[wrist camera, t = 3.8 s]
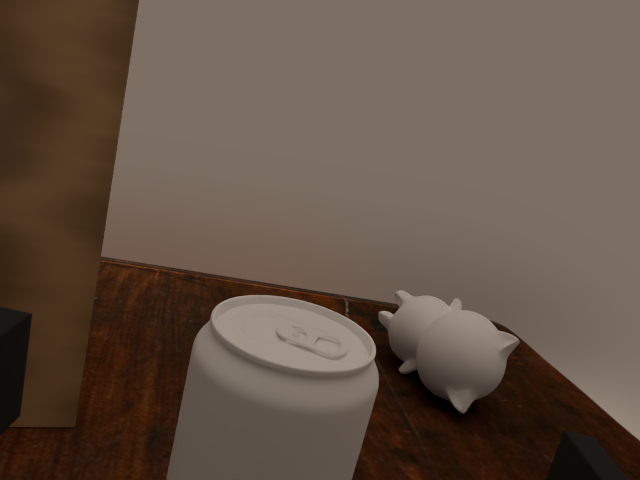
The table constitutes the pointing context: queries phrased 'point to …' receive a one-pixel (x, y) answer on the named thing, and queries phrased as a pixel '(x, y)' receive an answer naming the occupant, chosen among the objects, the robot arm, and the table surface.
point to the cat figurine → (448, 347)
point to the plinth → (58, 180)
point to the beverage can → (275, 394)
